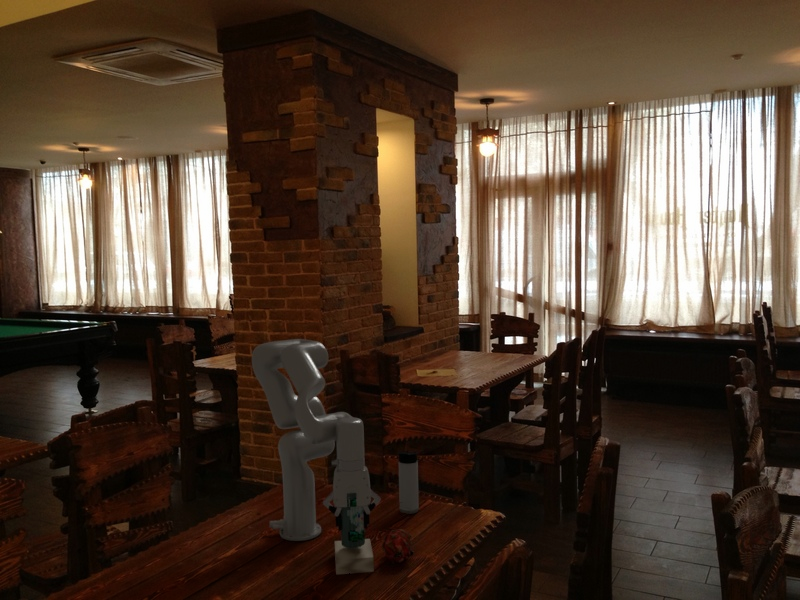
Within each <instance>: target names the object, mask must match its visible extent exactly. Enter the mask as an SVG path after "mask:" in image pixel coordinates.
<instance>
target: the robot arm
mask: <svg viewBox="0 0 800 600" xmlns="http://www.w3.org/2000/svg"><path fill="white" fill-rule="evenodd" d="M328 363H329V353H328V350H327V347H325V346H324V344H323V343H321V342H320V341H317V340H311V339H304V338H293V339H286V340H285V339H284V340H275V341H268V342H264V343H260V344H259V345H257V346H255V347H254V349H253V351H252V354H251V365H252V367H251V368H252V369H253V373H254V376H255V377H256V380H257V381H258V382H259V385H260V387H261V388H262V390H263V392H264V394H265V398H266V400H267V404H268V406H269V409H270V412H271V417H272V419H273V421H274V423H275V425H276V427H277V428H278V429H280V430H288V429H296V428H300V429H298V430H292V431H289V432H287V433H285V434H283V435H282V436H281V437H280V438H279V440H278V444H277V450H278V455H279V459H280V464H281V471H282V473H281V474H282V489H283V490H282V491H283V493H282V494H283V518H282V519H281V518H280V520H269V528H272V530H279V536H280V538H281V539H284V540H286V541H290V542H303V541H309V540H312V539H315V538H317V537H319V536H320V534H322V526H321V525H320V524H319V523H317V515H316V514H317V513H316V486H315V473H314V472H313V470H312V468H311V467H310V465H308V463H307V462H309V461H312V460H315V459H319V458H323V457H326V456H329V455H331V454H332V453H333V452H334V449H335V445H336V458H335V459H334V460H331V466H332V467H333V466H334V467H335V468H334V472H333V482H332V491H331V492H330V494H329V495H327V496H326V497H325V498H324V499H323V501H322V504H323V506H324V507H326V509H328V511H329V512H330V513H332V515H334V517H335V527H336V528H338V531H340V532H341V513H340V511H341V509H342V508H346V507H347V494H349V493H351V494H352V493H357V496H356V497H357V498H356V501H357V507H358V506H359V507H362V506H363V508H364V528H365V530H368V525H370V514H371V512H372V511H373V510H375V508H376V507H377V505H378V504H379V503H380V502H381V501H382V498H381V496H380V495H378V494H377V493H376V492H374V490H373V489H371V479H370V473H369V470H368V467H367V466H366V461H365V457H366V456H365V432H364V431H365V430H364V429H365V428H364V421H363V420H362V419H361V418H359V417H354V416H352V415H351V414H349V413H348V412H345V411H337V412H333V413H332V412H331V413H326V410H325V408H324V405H323V403H322V401H321V400H320V399H319V397H317V396H319V394H320V393H321V392H323V390H324V389H325V386H326V380H325V378H324V376H323V375H322V373H321V371H320V370H319V369H323V368H325V367H326V366H327V365H328ZM283 368H284V370H285V372H286V374H287V375H288V377H289V379H290V380H289V379H288V378H287V376H286V375H284V374H283V373H282V372H280V371H279V370H278V369H283ZM292 385H293V386H294V388H295V390H296V392H297V394H298V395H297V394H296V393H295V391H294V389H293V386H292ZM335 443H336V444H335ZM372 498H373V500H372ZM371 500H372V501H371ZM331 501H333V504H331ZM349 507H350V499H349Z"/></svg>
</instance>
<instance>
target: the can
mask: <svg viewBox="0 0 800 600" xmlns="http://www.w3.org/2000/svg"><path fill="white" fill-rule="evenodd" d="M356 496H357V493H352V494H351V493H349V494H347V507H346V508H342V509H341V511H340V513H341V531H340V534H341V535H340V537H341V540H340V541H342V546H344V547H347V548H358V547H361V546H362V545H364V543H365V539H366V535H365V533H366V531H365V530H366V529H365V528H364V508H363V506H362V507H359V506H358V507H357V501H356V498H357V497H356ZM349 499H350V507H349Z"/></svg>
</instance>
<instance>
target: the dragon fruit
mask: <svg viewBox="0 0 800 600" xmlns="http://www.w3.org/2000/svg"><path fill="white" fill-rule="evenodd" d="M411 539H412V535H411V534H410V533H409V532H408V533H407V532H406V531H405V530H404V529H402V528H400V529H399V528H398V529H392V530H391V531H390V532H389V534H386V535H385V536H384V537H383V542H382V545H381V549H382V551H384V555H385V556H386V557H387V558H388V560H389V561H390V563H391V564H392V565H396V564H397V563H402V562H404V560H407V559H408V558H409V557H412V556H414V554H415V551H414V550H412V549H413V546H414V545H413V544H414V543H413V542H412V541H411Z"/></svg>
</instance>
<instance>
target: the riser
mask: <svg viewBox="0 0 800 600" xmlns="http://www.w3.org/2000/svg"><path fill="white" fill-rule="evenodd" d="M334 558H335V559H334V560H335V573H336V575H337V576H338V575H348V574H349V573H350V574H360V573H373V572H374V571H375V567H374V565H375V564H374V552H373V547H372V543H371V539H370V538H365V543H364V545H362V546H361V547H358V548H347V547H344V546H342V541H341V540H334Z"/></svg>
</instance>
